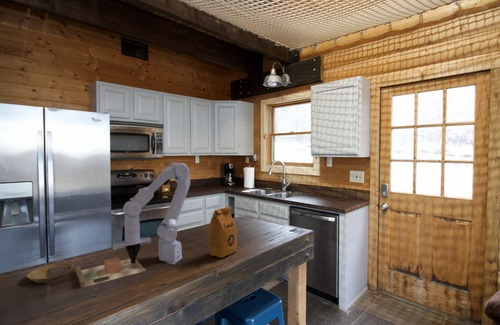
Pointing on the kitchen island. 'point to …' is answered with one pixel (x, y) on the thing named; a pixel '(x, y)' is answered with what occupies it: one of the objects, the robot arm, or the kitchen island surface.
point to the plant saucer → (46, 273)
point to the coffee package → (222, 233)
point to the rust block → (112, 265)
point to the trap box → (99, 272)
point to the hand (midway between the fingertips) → (133, 262)
